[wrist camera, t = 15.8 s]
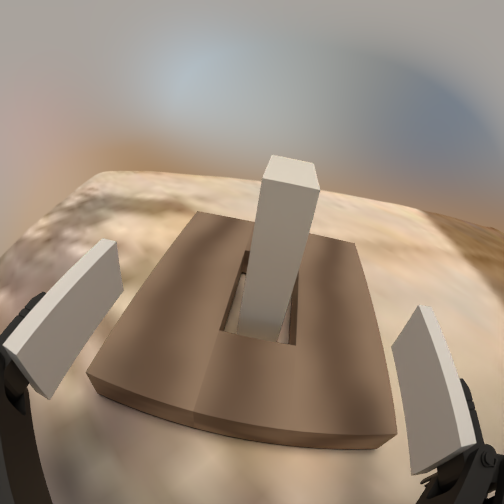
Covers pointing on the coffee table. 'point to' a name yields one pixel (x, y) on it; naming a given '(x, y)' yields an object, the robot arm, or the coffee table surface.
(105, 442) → the coffee table surface
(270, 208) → the tall cream pillar
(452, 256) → the coffee table surface
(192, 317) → the brown slotted base plate
